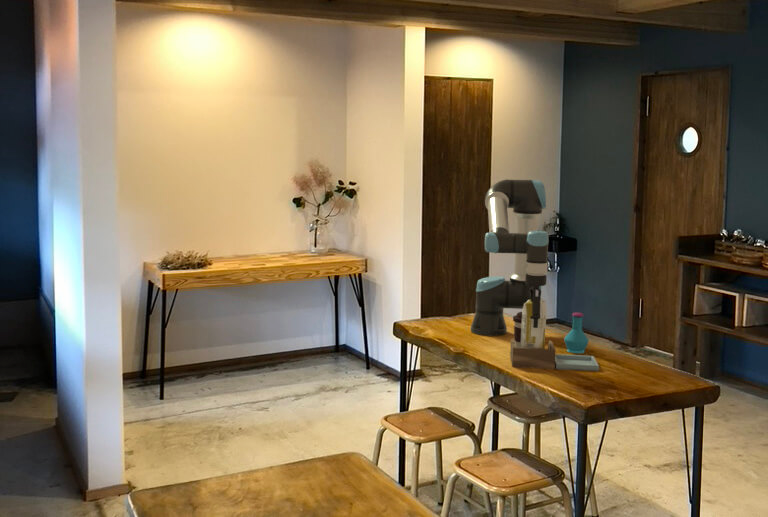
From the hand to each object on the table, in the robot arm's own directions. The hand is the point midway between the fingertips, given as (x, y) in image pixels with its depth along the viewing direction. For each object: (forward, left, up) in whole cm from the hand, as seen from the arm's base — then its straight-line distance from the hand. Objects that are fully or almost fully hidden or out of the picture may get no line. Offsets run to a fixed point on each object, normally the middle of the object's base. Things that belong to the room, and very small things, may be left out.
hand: (533, 332), depth 314 cm
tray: (0, +15, -11) cm, 19 cm away
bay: (0, 0, -11) cm, 11 cm away
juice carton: (0, 0, -12) cm, 12 cm away
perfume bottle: (-21, +18, -12) cm, 30 cm away
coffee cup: (-17, -2, -12) cm, 21 cm away
